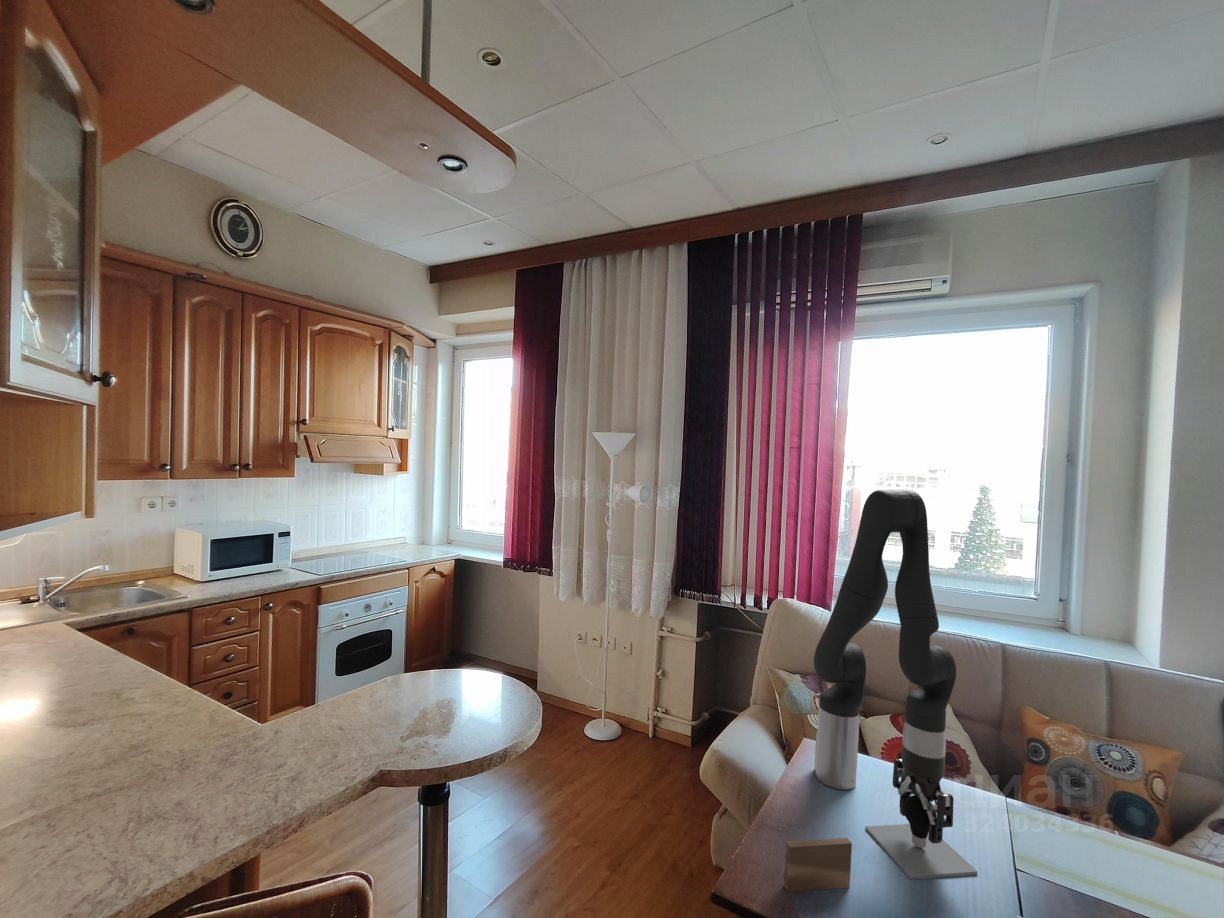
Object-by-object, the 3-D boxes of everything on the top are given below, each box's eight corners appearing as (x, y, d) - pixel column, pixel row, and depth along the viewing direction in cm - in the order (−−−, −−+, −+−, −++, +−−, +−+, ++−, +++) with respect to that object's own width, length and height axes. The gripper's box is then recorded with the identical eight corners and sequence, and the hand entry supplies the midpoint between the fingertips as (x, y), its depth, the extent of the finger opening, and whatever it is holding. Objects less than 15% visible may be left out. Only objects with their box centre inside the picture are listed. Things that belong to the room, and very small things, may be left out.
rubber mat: (865, 829, 117) (865, 826, 117) (924, 825, 119) (924, 823, 119) (911, 879, 103) (911, 876, 103) (977, 874, 105) (977, 871, 105)
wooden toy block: (783, 885, 100) (786, 841, 100) (844, 881, 102) (847, 837, 102) (787, 892, 98) (789, 847, 98) (849, 887, 100) (851, 843, 100)
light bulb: (930, 841, 113) (932, 792, 113) (939, 861, 107) (941, 808, 107) (899, 835, 114) (900, 786, 115) (906, 854, 109) (907, 802, 109)
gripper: (968, 765, 104) (964, 852, 104) (915, 728, 119) (911, 804, 119) (933, 767, 103) (928, 854, 103) (883, 729, 117) (879, 806, 117)
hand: (919, 827), depth 111 cm, fingers open, 8 cm apart
